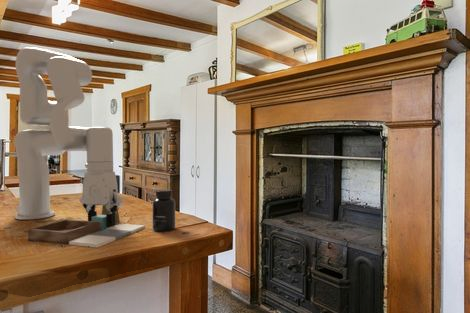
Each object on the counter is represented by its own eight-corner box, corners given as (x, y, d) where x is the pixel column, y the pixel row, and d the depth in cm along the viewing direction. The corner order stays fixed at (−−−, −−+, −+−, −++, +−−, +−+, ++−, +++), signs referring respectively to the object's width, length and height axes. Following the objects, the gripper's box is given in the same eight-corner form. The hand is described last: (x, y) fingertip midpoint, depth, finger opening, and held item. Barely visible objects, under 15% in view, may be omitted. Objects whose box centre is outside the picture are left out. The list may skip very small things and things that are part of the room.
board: (69, 244, 89) (68, 241, 89) (120, 226, 109) (120, 223, 108) (97, 247, 86) (97, 244, 86) (144, 228, 106) (144, 225, 106)
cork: (113, 223, 112) (112, 190, 111) (96, 223, 113) (96, 190, 112) (123, 219, 118) (122, 188, 117) (107, 219, 119) (106, 187, 118)
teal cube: (91, 230, 104) (91, 217, 104) (100, 227, 108) (100, 214, 108) (102, 231, 103) (102, 217, 103) (111, 228, 107) (111, 215, 107)
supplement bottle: (155, 233, 99) (155, 192, 99) (150, 228, 106) (149, 189, 105) (178, 230, 103) (178, 190, 102) (171, 225, 109) (171, 188, 108)
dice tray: (28, 240, 93) (28, 229, 93) (65, 228, 105) (65, 219, 105) (65, 244, 89) (65, 232, 89) (100, 231, 101) (100, 221, 101)
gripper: (68, 167, 104) (69, 226, 105) (115, 168, 98) (117, 230, 99) (86, 166, 111) (87, 221, 112) (131, 167, 106) (132, 224, 106)
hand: (101, 225), depth 105 cm, fingers open, 6 cm apart
